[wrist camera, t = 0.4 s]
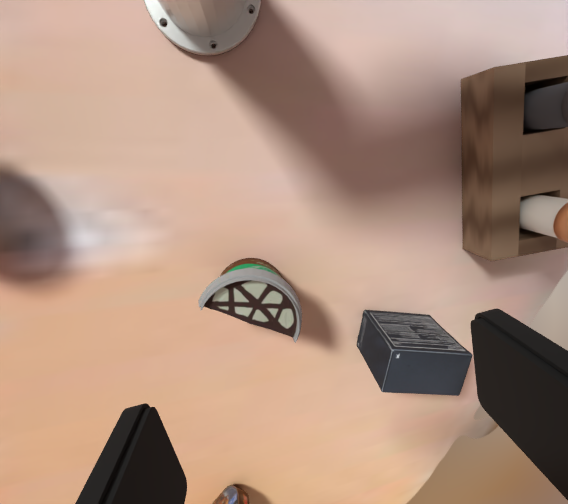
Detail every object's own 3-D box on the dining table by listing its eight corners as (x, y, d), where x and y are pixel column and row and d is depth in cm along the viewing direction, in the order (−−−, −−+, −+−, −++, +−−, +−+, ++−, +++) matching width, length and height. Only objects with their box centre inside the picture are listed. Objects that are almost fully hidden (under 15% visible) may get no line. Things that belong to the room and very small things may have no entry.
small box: (354, 348, 51) (379, 395, 41) (362, 308, 49) (391, 347, 39) (420, 352, 52) (460, 399, 42) (430, 313, 51) (475, 353, 41)
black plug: (490, 96, 42) (578, 75, 31) (527, 90, 43) (628, 67, 31) (489, 137, 44) (574, 130, 32) (525, 130, 44) (622, 122, 32)
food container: (308, 268, 47) (322, 297, 37) (290, 306, 48) (299, 344, 39) (223, 235, 45) (216, 257, 35) (207, 276, 46) (195, 308, 36)
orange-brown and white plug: (489, 192, 46) (568, 205, 34) (523, 186, 46) (613, 196, 34) (488, 226, 47) (564, 250, 36) (521, 220, 47) (608, 241, 36)
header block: (460, 79, 42) (494, 67, 36) (553, 64, 42) (601, 49, 37) (462, 248, 48) (491, 261, 42) (543, 233, 49) (582, 244, 43)
